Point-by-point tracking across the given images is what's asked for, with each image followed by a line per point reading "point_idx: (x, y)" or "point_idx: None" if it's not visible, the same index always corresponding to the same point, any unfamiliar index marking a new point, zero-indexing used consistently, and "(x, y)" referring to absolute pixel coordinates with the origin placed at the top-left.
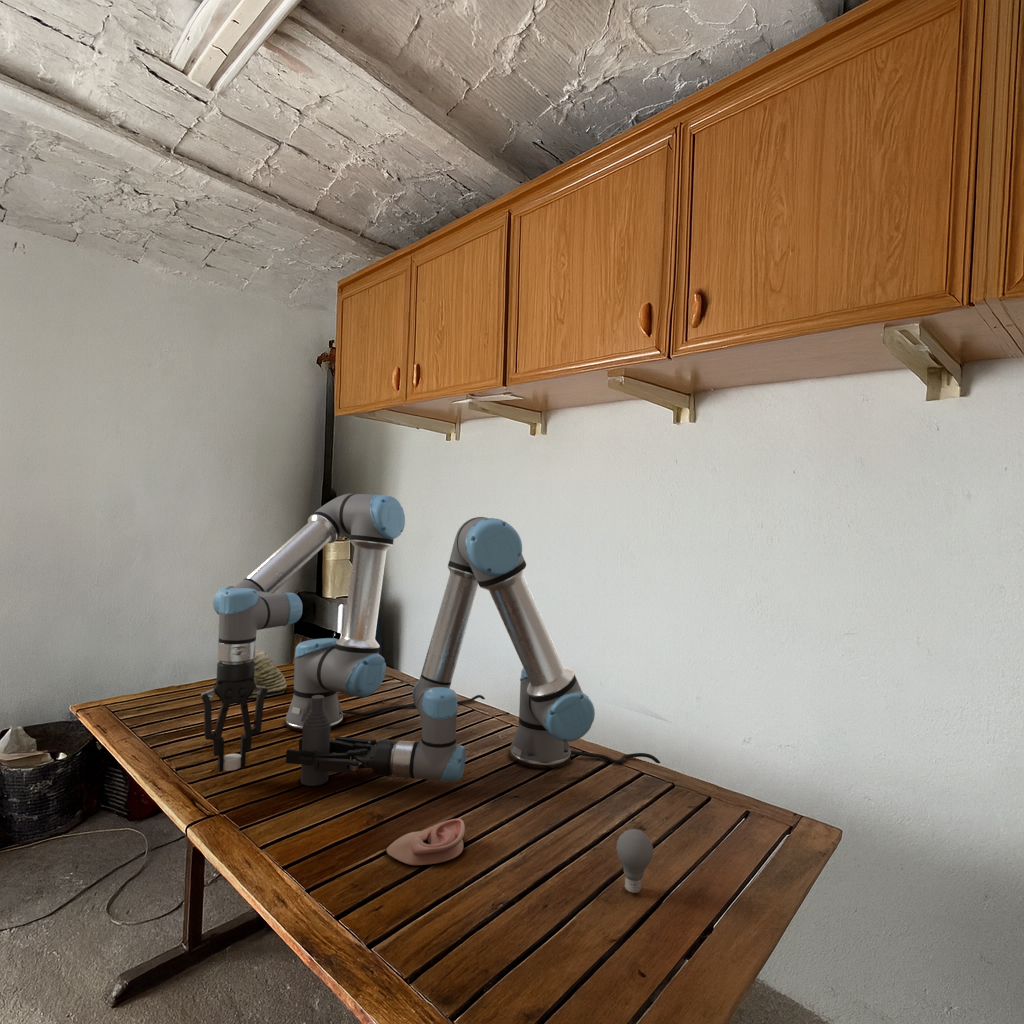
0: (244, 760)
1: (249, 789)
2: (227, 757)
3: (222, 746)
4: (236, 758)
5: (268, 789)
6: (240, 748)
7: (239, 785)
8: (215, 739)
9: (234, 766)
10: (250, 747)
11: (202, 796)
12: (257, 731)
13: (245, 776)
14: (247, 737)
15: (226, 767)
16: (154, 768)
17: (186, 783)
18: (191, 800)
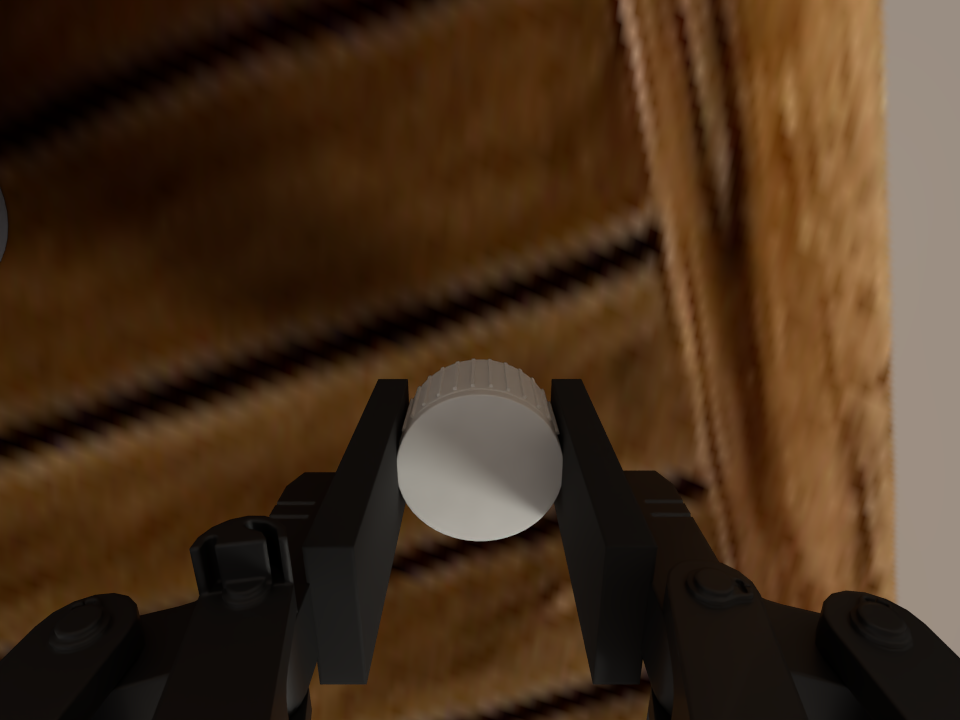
0: (374, 405)
1: (372, 245)
2: (519, 474)
3: (610, 504)
4: (444, 421)
5: (244, 186)
6: (393, 551)
7: (429, 336)
8: (744, 581)
9: (465, 371)
10: (290, 492)
11: (669, 269)
12: (97, 608)
13: None
14: (280, 526)
15: (528, 386)
16: None
17: (714, 489)
18: (743, 238)
